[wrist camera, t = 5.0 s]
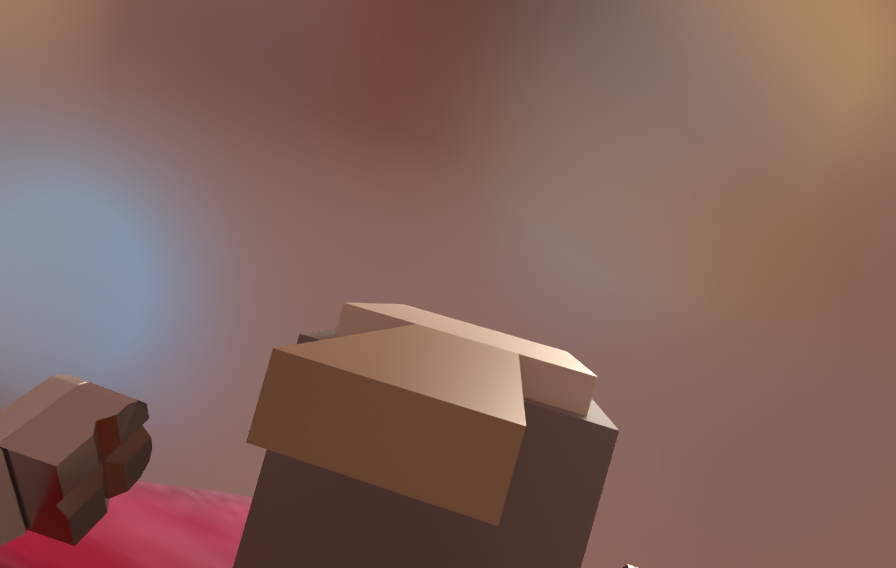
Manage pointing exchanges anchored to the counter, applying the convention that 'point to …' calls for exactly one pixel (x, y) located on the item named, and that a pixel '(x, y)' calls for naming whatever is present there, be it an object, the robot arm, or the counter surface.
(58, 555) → the counter surface
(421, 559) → the carton
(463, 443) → the lid flap
